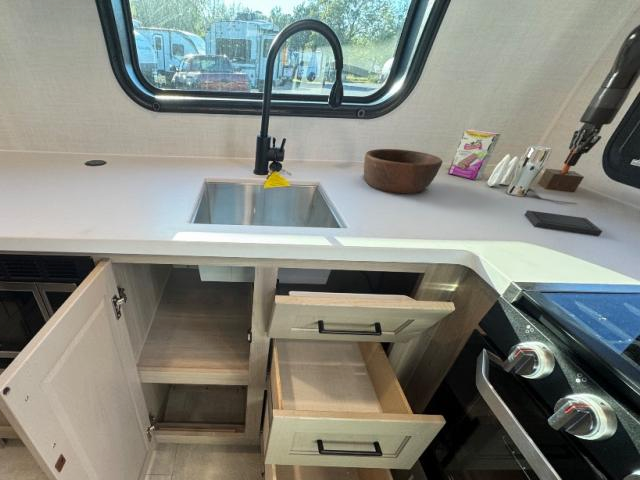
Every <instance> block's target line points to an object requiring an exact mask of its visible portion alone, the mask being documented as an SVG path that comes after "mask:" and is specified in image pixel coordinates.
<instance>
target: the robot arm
mask: <svg viewBox="0 0 640 480" xmlns="http://www.w3.org/2000/svg"><path fill="white" fill-rule="evenodd" d="M639 78H640V24H638V25H637V26H635V27H634V28H633V29H632V30H631V31H630V32H629V33H628V34H627V36H626V37H625V39H624V41H623V42H622V44H621V46H620V48H619V50H618V52H617V55H616V57H615V60H614V61H613V64H612V67H611V68H610V70H609V72H608V73H607V75H606V76H605V78H604V80H603V81H602V83H601V85H600V87H599V88H598V90H597V91H596V93H595V94H593V97H592V98H591V100H590V101H589V103H588V105H587V107H586V109H585V110H584V112H583V114H582V116H581V117H580V119H579V122H580V123H582V124H583V125H582V126H581V127H580V128H579V129H578V130H575V131H574V132H573V134H572V137H571V140H570V143H569V147H568V150H569V153H568V155H567V157H566V159H565V160H564V162H563V164H564V165H565V164H566V163H567V165H568V166H571V167H575V166H576V165H577V163H578V162H579V160H580V159H581V157H582V155H584V154H588V153H589V152H590V151H591V150H592V149H593V148H594V146H596V145H597V143H599V141H600V140H601V139H602V136H601V135H600V132H601V130H602V128H603V126H604V125H606V126H607V125H610V124H612V123H613V121H614V119H615V118H616V116H617V115H618V114H619V112H620V110H621V109H622V107H623V105H624V104H625V103H626V101H627V99H628V97H629V96H630V93H631V91H632V89H633V88H634V87H635V85H636V83H637V81H638V80H639ZM574 149H575V151H574ZM573 151H574V154H572V152H573ZM571 154H572V156H571ZM570 156H571V157H570ZM569 158H570V159H569ZM568 159H569V161H568ZM567 161H568V162H567Z"/></svg>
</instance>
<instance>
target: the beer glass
mask: <svg viewBox="0 0 640 480" xmlns="http://www.w3.org/2000/svg"><path fill="white" fill-rule="evenodd" d="M553 150H554V149H553V148H552V147H549V146H543V145H542V146H541V145H540V146H539V145H528V146H527V147H526V149H525V150H524V152H523V153H522V155H521V157H520V159H519V160H518V162H517V168H516V171H515V173H514V175H513V177H512V179H511V181H510V182H511V183H509V185H508V187H507V188H506V189H505V194H507V195H510V196H514V197H526V196H527V195H528V192H529V189H530V187H531V185H532V183H533V182H534V180H535V179H536V178H537V177H538V175H539V174H540V173H541V171H542V170H543V169H544V167H545V166H546V164H547V162H548V160H549V159H550V156H551V153H552V152H553Z"/></svg>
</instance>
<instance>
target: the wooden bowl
mask: <svg viewBox="0 0 640 480" xmlns="http://www.w3.org/2000/svg"><path fill="white" fill-rule="evenodd" d="M363 163H364V164H363V176H364V180H365V183H366V184H367V185H368V186H369V187H371V188H372V189H376V190H380V191H383V190H384V191H383V192H388V191H389V192H388V193H394V192H395V194H417V193H420V192H422V191H424V190H426V189H427V188H428V187H429V186H430V185H431V183H432V182H433V181H434V180H435V178H436V176H437V174H438V172H439V171H440V169H441V167H442V165H443V160H442V158H440V157H439V156H437V155H433V154H431V153H426V152H421V151H415V150H409V149H396V148H379V149H371V150H368V151H367V152H366V153H365V155H364V162H363Z"/></svg>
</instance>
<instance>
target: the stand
mask: <svg viewBox="0 0 640 480" xmlns="http://www.w3.org/2000/svg"><path fill="white" fill-rule="evenodd" d="M561 171H562V169H555V168H545V170H544V172H543V174H542V175H541V176H540V179H539V181H538V182H537V184H538V185H539V186H540V187H541V188H543V189H544V190H548V191H557V192H566V193H575V192H576V191H577V189H578V187H579V186H580V184H581V183H582V181H583V179H584V178H585V176H584V175H582V174H580V173H579V172H576V171H575V170H568V172H567V173H561Z"/></svg>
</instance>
